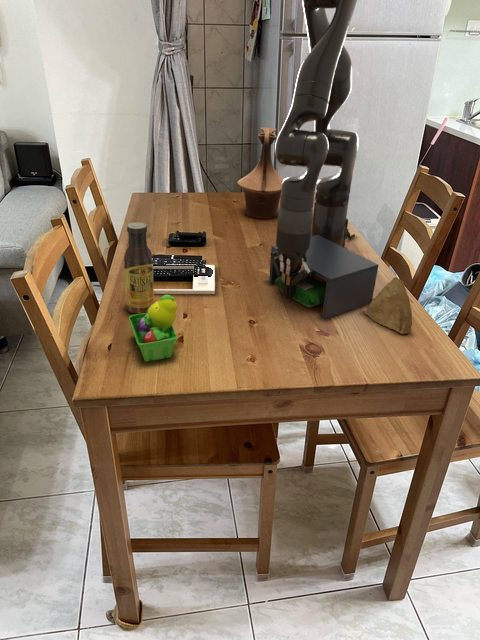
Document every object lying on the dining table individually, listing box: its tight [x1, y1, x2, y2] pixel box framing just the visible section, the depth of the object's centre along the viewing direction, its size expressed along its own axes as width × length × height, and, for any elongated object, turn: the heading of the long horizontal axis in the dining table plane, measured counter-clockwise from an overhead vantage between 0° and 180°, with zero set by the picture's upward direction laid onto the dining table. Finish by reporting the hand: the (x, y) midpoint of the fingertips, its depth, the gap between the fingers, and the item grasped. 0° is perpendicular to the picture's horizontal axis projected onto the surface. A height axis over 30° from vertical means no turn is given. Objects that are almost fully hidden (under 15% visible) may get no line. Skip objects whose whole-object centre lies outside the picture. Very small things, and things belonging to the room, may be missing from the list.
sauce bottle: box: [123, 221, 155, 314], centre depth 111 cm, size 6×6×20 cm
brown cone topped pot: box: [237, 126, 285, 219], centre depth 166 cm, size 18×17×28 cm
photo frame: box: [153, 264, 216, 295], centre depth 128 cm, size 15×1×18 cm
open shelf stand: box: [268, 235, 379, 320], centre depth 123 cm, size 15×21×10 cm
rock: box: [364, 276, 413, 335], centre depth 112 cm, size 11×9×10 cm
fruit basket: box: [128, 294, 178, 363], centre depth 100 cm, size 11×9×11 cm
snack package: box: [274, 274, 327, 308], centre depth 121 cm, size 7×16×5 cm, turn 35°
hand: (287, 296), depth 120 cm, fingers closed
